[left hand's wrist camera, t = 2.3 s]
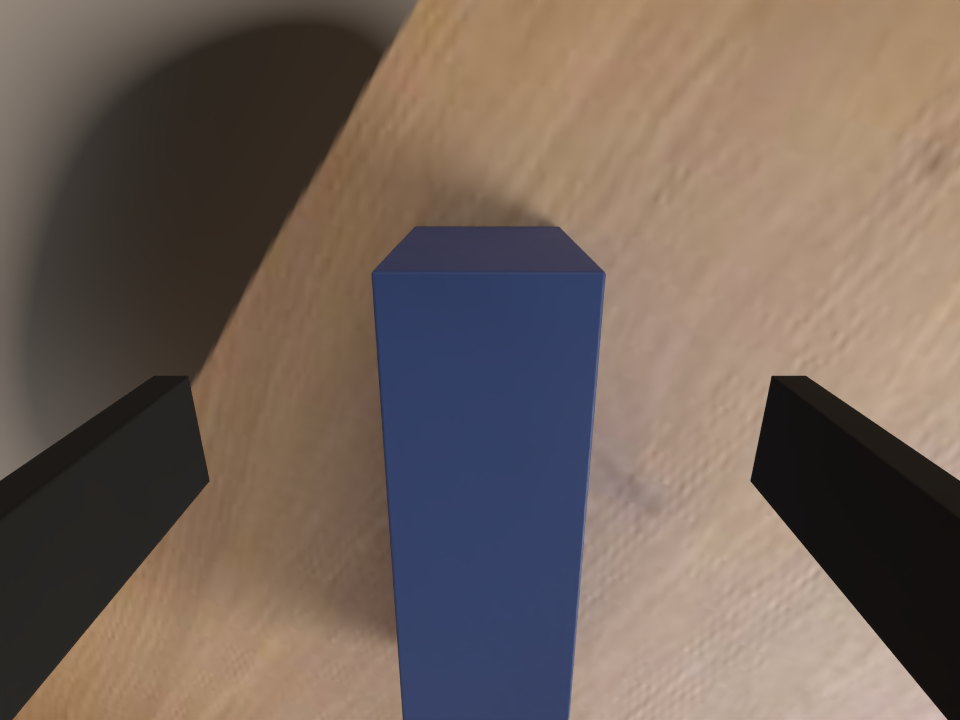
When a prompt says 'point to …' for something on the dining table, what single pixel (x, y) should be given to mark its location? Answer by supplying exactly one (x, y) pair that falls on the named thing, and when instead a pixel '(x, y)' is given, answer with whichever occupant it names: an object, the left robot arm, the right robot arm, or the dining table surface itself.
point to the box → (487, 463)
